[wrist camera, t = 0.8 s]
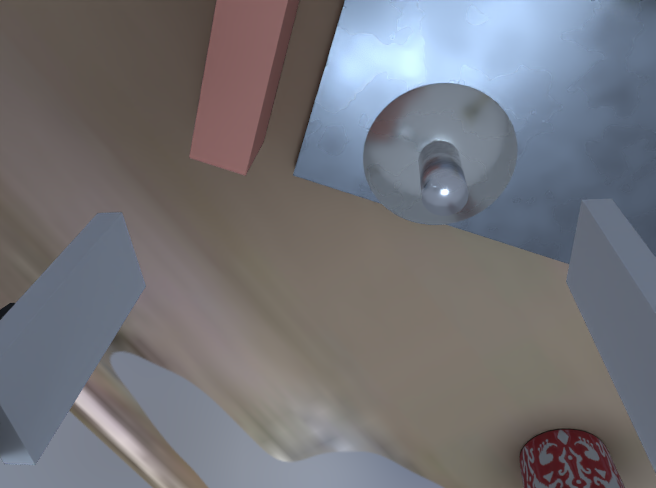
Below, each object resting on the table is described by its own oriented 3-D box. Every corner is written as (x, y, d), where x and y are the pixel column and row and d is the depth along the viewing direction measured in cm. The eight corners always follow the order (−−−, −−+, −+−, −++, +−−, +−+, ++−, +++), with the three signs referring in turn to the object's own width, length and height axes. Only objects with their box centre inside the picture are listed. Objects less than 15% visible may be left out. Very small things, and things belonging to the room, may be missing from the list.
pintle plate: (294, 173, 35) (290, 182, 34) (429, -283, 23) (431, -292, 22) (683, 299, 37) (692, 311, 36) (996, -58, 25) (1023, -57, 24)
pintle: (412, 170, 33) (414, 207, 29) (427, 134, 32) (432, 168, 28) (449, 182, 33) (456, 221, 29) (465, 147, 32) (476, 183, 28)
